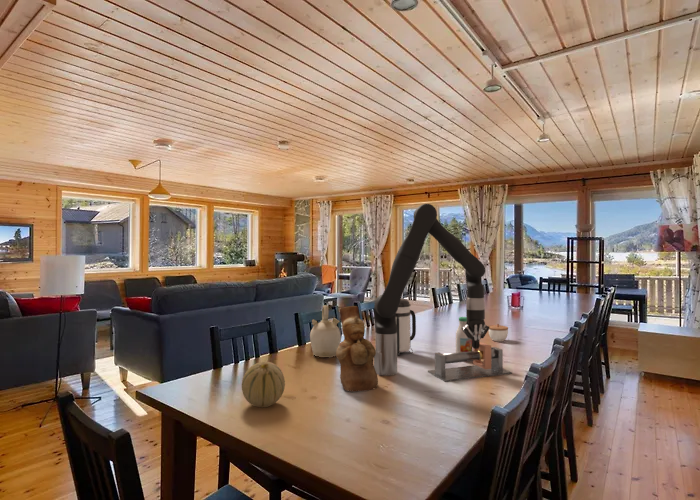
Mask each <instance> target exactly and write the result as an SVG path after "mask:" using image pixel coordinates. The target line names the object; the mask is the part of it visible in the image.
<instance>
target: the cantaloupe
mask: <svg viewBox="0 0 700 500" xmlns="http://www.w3.org/2000/svg"><path fill="white" fill-rule="evenodd" d="M241 381H242V382H241V391H242V395H243V397H244V398H245V400H246V402H248V404H250V405H251V406H253V407H258V408H266V407H270V406H272V405H274V404H277V402H278V401H279V400H280V398H281V397H282V396H283V394H284V392H285V391H284V390H285V387H286V380H285V376H284V373H283V371H282V369H281V367H279V366H278V365H276V363H273V362H271V361H260V362H257V363H255V364H253V365H251V366H250V367H249V368H248V369H247V370H246V372H245V373H244V375H243V377H242V380H241Z"/></svg>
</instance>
